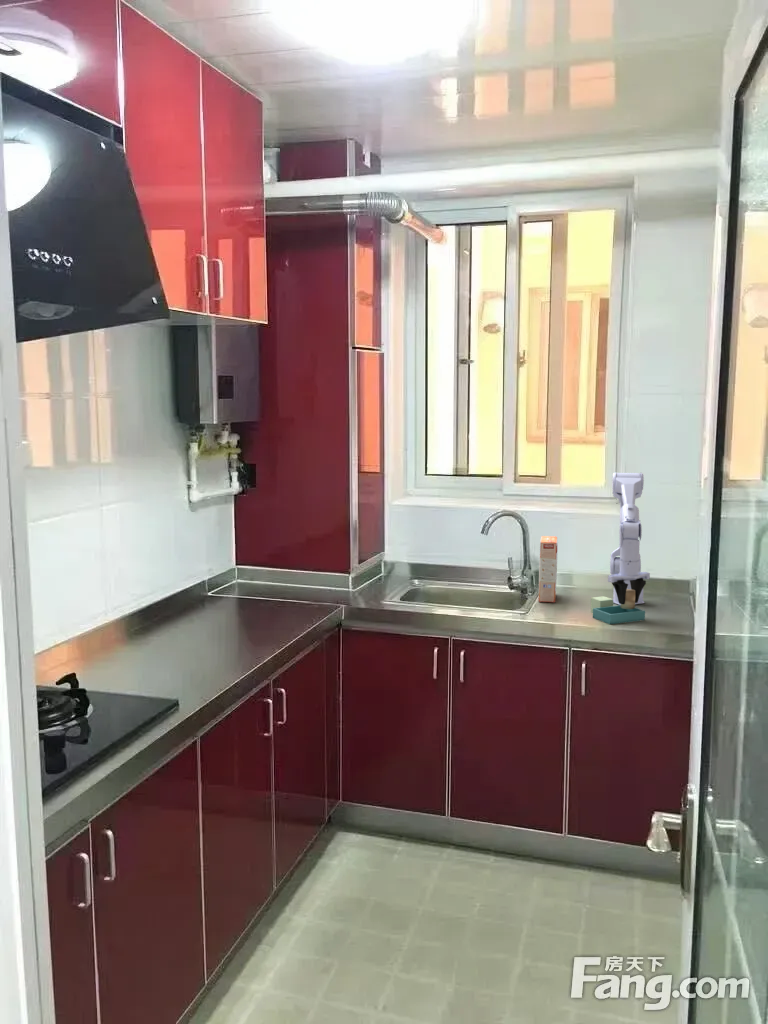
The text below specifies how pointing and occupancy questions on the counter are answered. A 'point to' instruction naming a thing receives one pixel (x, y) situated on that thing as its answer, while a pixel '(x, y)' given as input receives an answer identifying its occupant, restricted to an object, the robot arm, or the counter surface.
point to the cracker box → (548, 569)
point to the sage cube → (600, 602)
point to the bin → (618, 614)
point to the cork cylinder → (629, 600)
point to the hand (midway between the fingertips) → (628, 603)
